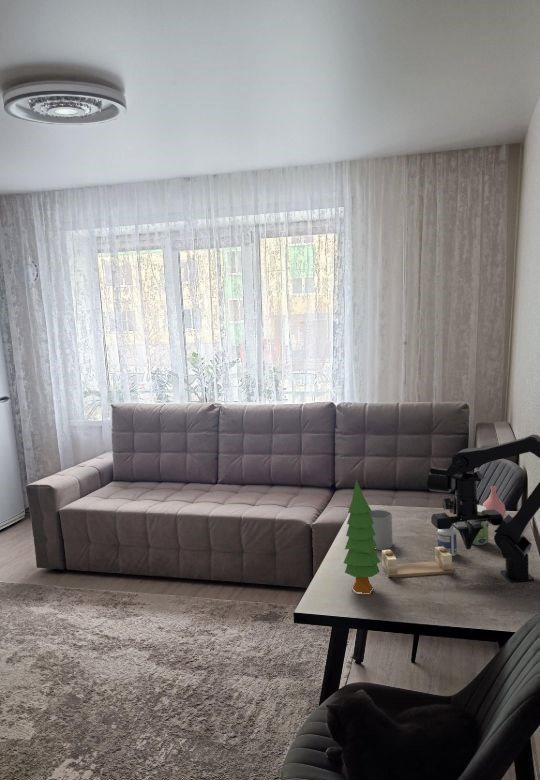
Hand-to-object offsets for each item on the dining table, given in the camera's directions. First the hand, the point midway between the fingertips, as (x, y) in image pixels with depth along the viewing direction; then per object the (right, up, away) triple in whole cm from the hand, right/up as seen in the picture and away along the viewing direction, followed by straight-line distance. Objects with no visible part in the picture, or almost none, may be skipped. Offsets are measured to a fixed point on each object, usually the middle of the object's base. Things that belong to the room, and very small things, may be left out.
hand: (467, 548), depth 159 cm
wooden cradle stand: (-14, -6, 0) cm, 15 cm away
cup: (-21, -5, +21) cm, 30 cm away
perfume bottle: (+22, -1, +38) cm, 44 cm away
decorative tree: (-31, -8, -10) cm, 34 cm away
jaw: (-7, -4, 0) cm, 8 cm away
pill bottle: (-2, -5, +11) cm, 12 cm away
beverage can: (+9, -3, +17) cm, 20 cm away
